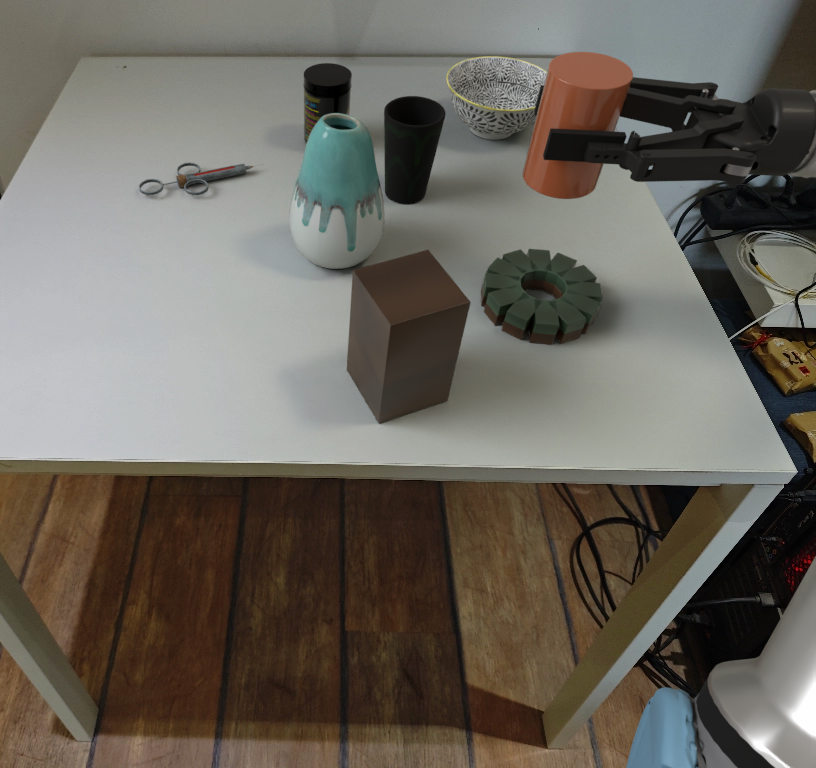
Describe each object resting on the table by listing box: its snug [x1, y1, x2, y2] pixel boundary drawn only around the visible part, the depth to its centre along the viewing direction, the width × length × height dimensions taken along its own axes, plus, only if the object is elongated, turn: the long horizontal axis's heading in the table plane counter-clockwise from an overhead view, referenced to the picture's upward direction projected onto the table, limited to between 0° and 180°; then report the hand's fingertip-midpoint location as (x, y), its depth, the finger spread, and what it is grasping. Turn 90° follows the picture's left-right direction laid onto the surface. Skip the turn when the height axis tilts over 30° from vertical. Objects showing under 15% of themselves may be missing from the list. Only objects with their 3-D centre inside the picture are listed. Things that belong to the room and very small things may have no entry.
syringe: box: [138, 161, 265, 196], centre depth 101 cm, size 8×18×2 cm, turn 110°
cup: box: [383, 95, 446, 205], centre depth 95 cm, size 8×8×12 cm
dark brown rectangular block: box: [346, 249, 472, 424], centre depth 71 cm, size 8×8×14 cm
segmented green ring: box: [480, 248, 604, 346], centre depth 83 cm, size 13×13×3 cm
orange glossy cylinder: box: [522, 51, 634, 200], centre depth 68 cm, size 7×7×11 cm
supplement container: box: [302, 62, 353, 145], centre depth 104 cm, size 7×7×10 cm
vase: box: [288, 113, 385, 270], centre depth 84 cm, size 12×12×18 cm
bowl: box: [445, 55, 547, 141], centre depth 108 cm, size 16×16×8 cm
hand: (542, 121), depth 68 cm, fingers closed on orange glossy cylinder, 7 cm apart
